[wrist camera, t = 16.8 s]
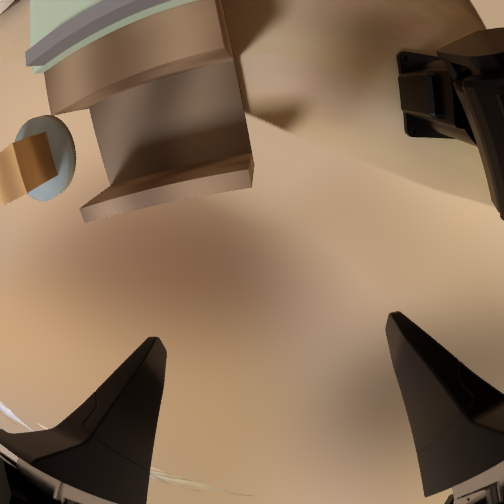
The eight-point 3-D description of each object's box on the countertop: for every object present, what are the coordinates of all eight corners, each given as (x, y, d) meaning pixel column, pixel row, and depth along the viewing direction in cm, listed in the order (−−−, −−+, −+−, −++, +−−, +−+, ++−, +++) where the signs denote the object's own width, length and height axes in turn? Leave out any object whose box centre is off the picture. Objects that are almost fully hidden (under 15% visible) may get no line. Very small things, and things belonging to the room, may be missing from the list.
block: (46, 131, 15) (12, 142, 12) (57, 175, 17) (27, 193, 14) (19, 147, 16) (-11, 161, 12) (31, 187, 18) (2, 205, 14)
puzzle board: (208, -58, 9) (194, -90, 4) (254, 165, 18) (251, 187, 14) (77, -5, 10) (41, -17, 6) (117, 195, 20) (84, 222, 15)
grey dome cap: (64, 100, 15) (55, 102, 14) (86, 183, 19) (78, 188, 18) (14, 134, 16) (5, 138, 15) (35, 204, 20) (27, 209, 19)
